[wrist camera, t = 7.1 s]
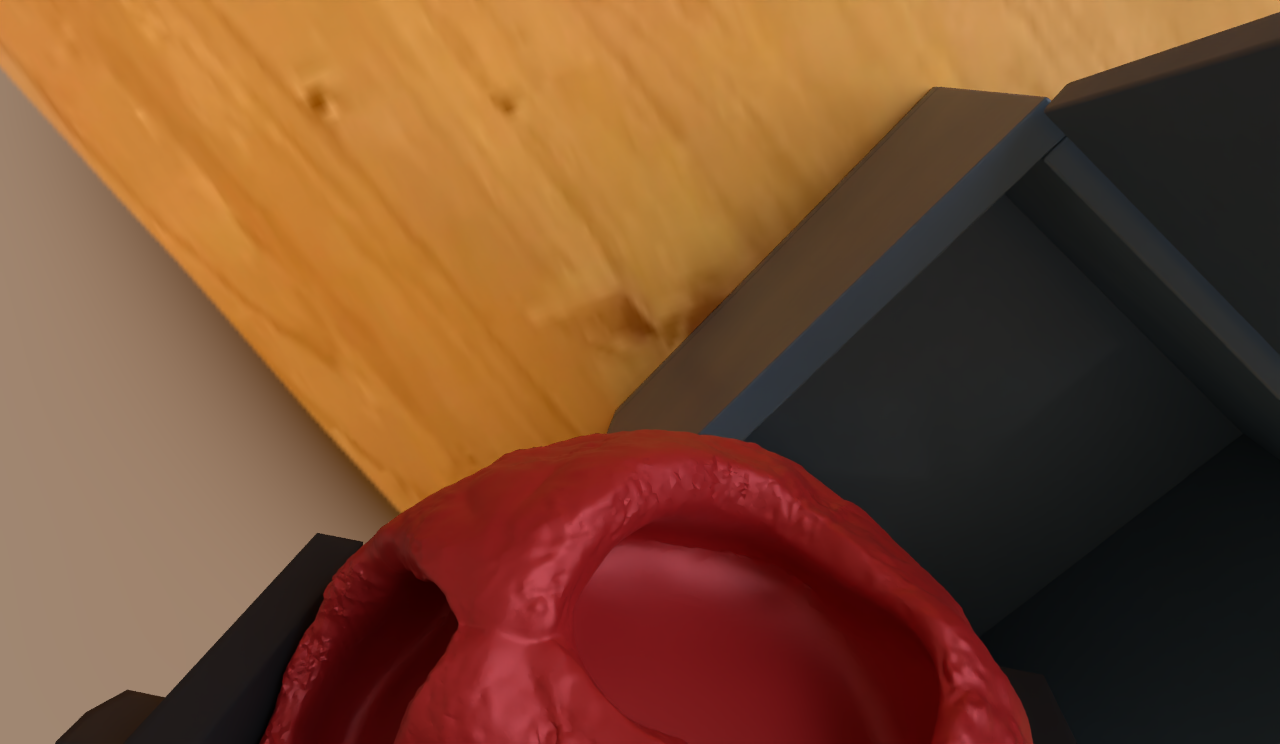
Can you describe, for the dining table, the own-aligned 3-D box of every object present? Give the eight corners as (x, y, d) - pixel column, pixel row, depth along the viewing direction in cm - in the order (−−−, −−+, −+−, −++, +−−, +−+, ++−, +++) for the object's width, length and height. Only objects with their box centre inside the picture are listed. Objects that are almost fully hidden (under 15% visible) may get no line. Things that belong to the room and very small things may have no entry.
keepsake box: (925, 686, 37) (1004, 954, 26) (614, 411, 35) (553, 574, 24) (1268, 423, 33) (1546, 610, 21) (934, 85, 30) (1047, 95, 19)
